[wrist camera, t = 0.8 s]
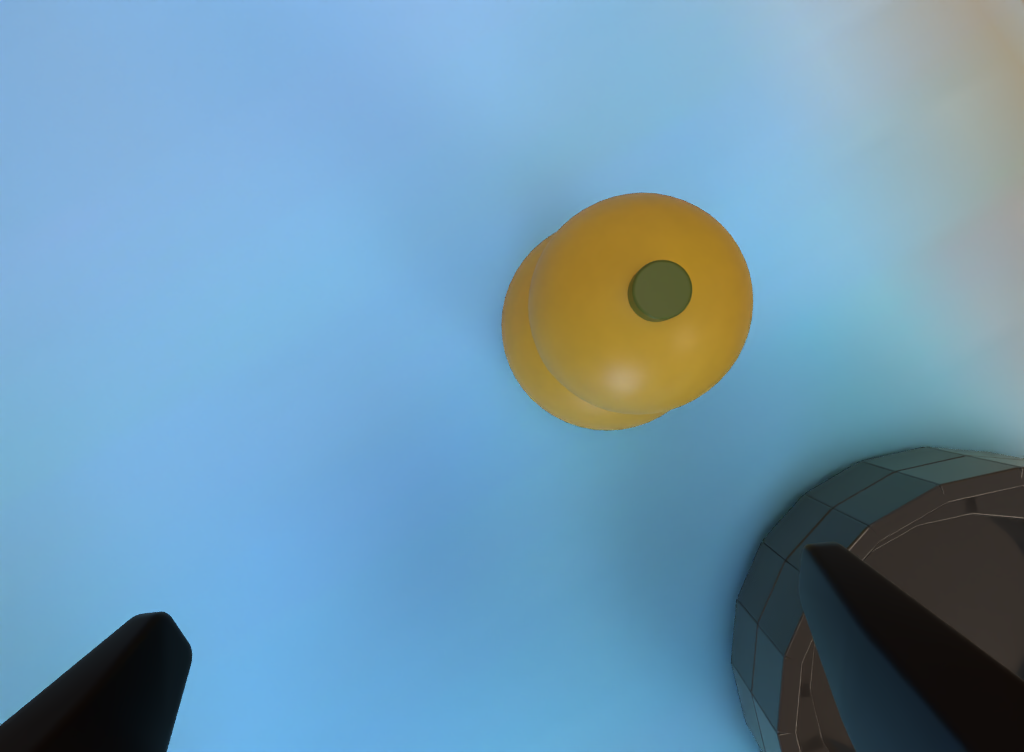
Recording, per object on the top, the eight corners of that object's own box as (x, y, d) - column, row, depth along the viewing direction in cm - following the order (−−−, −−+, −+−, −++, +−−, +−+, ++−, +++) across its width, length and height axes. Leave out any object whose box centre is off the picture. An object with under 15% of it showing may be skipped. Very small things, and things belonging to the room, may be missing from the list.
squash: (641, 445, 23) (771, 549, 10) (482, 379, 23) (405, 396, 10) (709, 285, 23) (933, 176, 10) (548, 219, 23) (555, 30, 10)
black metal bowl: (1036, 902, 23) (1176, 1054, 18) (667, 741, 23) (701, 843, 18) (1204, 541, 22) (1397, 592, 17) (822, 385, 23) (900, 390, 18)
